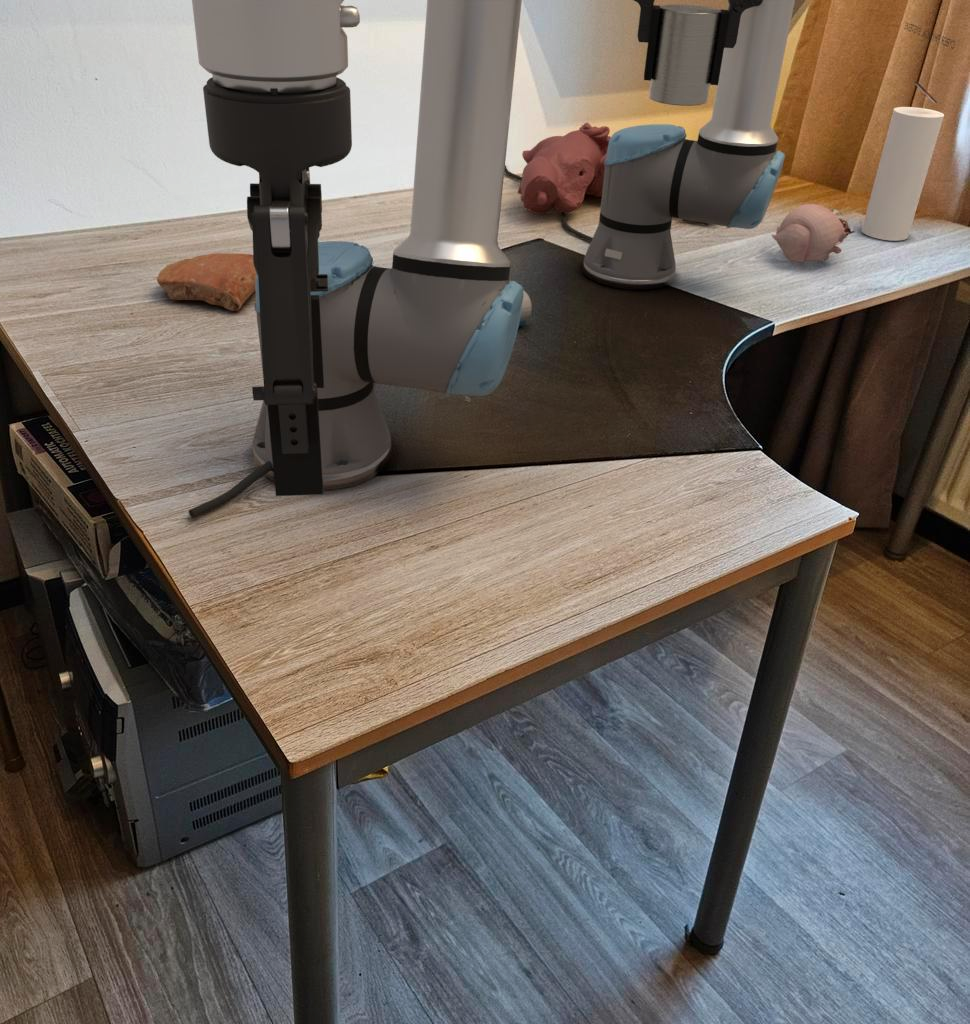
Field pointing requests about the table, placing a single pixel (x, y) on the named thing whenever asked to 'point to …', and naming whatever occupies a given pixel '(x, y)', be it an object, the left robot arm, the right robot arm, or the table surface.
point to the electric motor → (525, 309)
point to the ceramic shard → (211, 279)
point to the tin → (684, 54)
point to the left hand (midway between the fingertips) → (302, 434)
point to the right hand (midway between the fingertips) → (680, 79)
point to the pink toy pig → (564, 170)
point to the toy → (811, 233)
